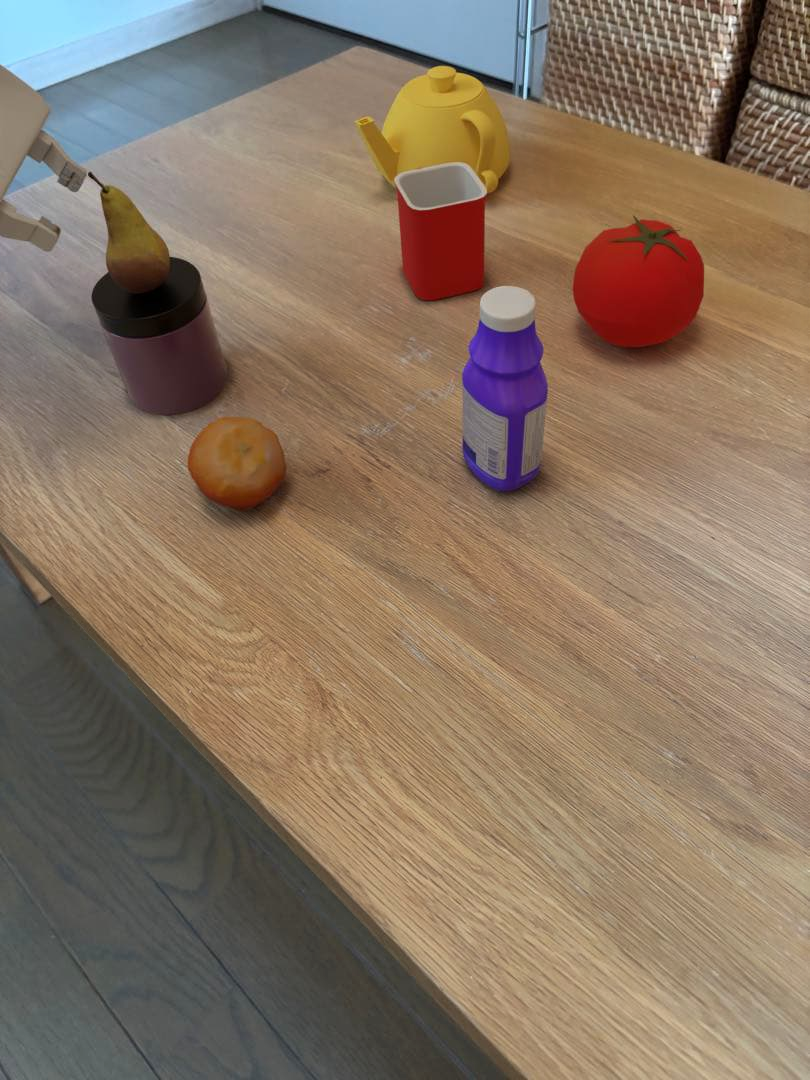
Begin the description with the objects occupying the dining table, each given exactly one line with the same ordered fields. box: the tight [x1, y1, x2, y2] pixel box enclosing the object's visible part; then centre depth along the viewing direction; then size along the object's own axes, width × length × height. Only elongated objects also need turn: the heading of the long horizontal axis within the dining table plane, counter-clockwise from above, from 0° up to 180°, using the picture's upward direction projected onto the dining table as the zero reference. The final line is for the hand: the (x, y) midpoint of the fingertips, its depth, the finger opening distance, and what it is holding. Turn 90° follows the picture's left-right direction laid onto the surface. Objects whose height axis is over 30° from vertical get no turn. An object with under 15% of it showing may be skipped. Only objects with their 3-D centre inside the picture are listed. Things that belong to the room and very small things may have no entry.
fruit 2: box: [187, 416, 287, 512], centre depth 74 cm, size 8×8×8 cm
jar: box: [98, 292, 229, 416], centre depth 83 cm, size 10×10×10 cm
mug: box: [394, 162, 488, 302], centre depth 93 cm, size 12×8×11 cm
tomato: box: [572, 214, 705, 348], centre depth 84 cm, size 13×12×11 cm
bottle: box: [461, 285, 549, 493], centre depth 69 cm, size 7×6×17 cm
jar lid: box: [90, 256, 206, 337], centre depth 79 cm, size 10×10×2 cm
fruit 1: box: [87, 171, 171, 294], centre depth 74 cm, size 6×6×12 cm
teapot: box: [354, 65, 511, 194], centre depth 104 cm, size 20×19×13 cm
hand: (70, 211), depth 72 cm, fingers open, 8 cm apart
